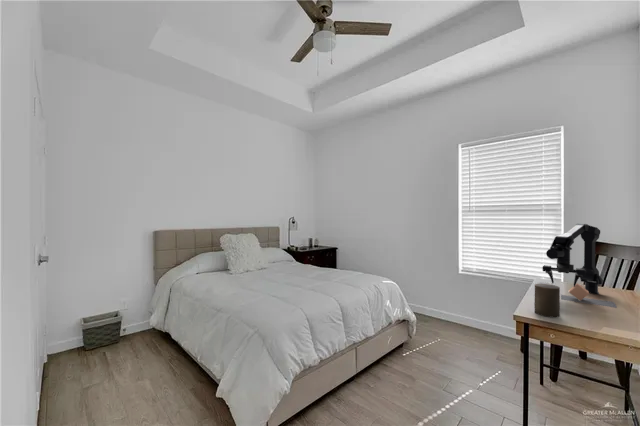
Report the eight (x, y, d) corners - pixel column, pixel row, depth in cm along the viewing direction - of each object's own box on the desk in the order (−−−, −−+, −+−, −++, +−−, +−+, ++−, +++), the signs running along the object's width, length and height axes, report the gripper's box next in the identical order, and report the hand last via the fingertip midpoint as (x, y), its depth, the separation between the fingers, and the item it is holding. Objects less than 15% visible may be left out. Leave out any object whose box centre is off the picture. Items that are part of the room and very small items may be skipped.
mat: (561, 295, 170) (560, 294, 170) (614, 302, 156) (614, 301, 156) (560, 300, 161) (560, 299, 161) (617, 308, 147) (617, 307, 147)
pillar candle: (556, 319, 133) (556, 286, 133) (531, 313, 141) (531, 282, 141) (562, 314, 139) (562, 283, 139) (538, 309, 147) (538, 279, 147)
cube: (568, 290, 165) (577, 283, 163) (579, 298, 162) (588, 291, 160) (568, 292, 161) (577, 285, 158) (579, 301, 158) (589, 293, 155)
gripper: (541, 258, 164) (541, 285, 164) (586, 261, 152) (586, 291, 152) (543, 255, 173) (543, 281, 173) (585, 258, 161) (585, 286, 161)
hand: (563, 285), depth 165 cm, fingers open, 9 cm apart
